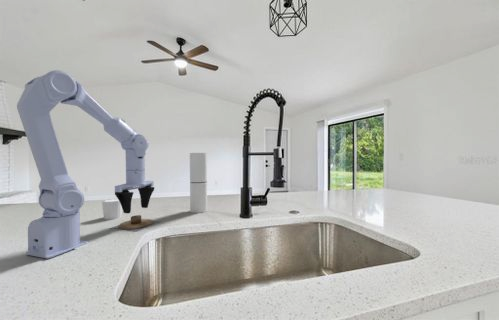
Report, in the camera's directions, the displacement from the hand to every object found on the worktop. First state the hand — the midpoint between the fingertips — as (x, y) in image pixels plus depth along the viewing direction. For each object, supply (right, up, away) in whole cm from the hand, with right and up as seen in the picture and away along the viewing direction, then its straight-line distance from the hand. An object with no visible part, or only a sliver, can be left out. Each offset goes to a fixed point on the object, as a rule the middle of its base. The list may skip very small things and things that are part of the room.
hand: (136, 210), depth 74 cm
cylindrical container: (+17, -5, +20) cm, 27 cm away
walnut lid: (0, -5, 0) cm, 5 cm away
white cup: (-14, -6, +9) cm, 18 cm away
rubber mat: (0, -5, 0) cm, 5 cm away
